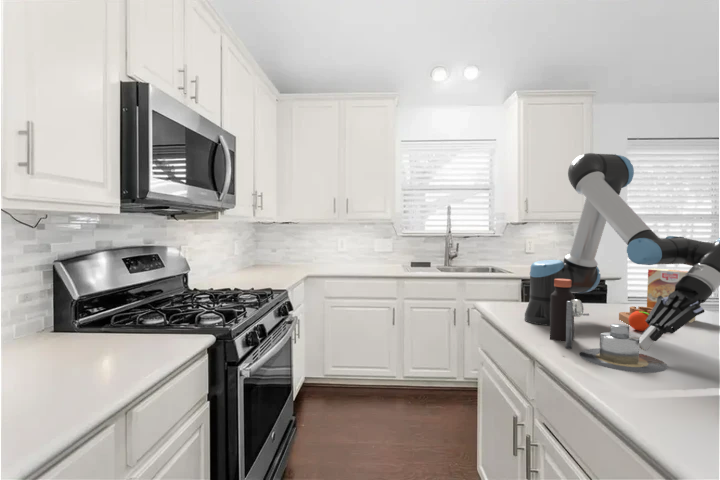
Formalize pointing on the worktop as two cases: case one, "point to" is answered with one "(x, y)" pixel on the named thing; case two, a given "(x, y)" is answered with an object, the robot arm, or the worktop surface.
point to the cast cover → (619, 345)
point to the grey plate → (644, 365)
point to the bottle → (560, 309)
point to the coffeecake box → (662, 284)
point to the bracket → (625, 315)
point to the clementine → (638, 320)
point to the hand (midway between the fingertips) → (640, 346)
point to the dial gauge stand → (574, 310)
